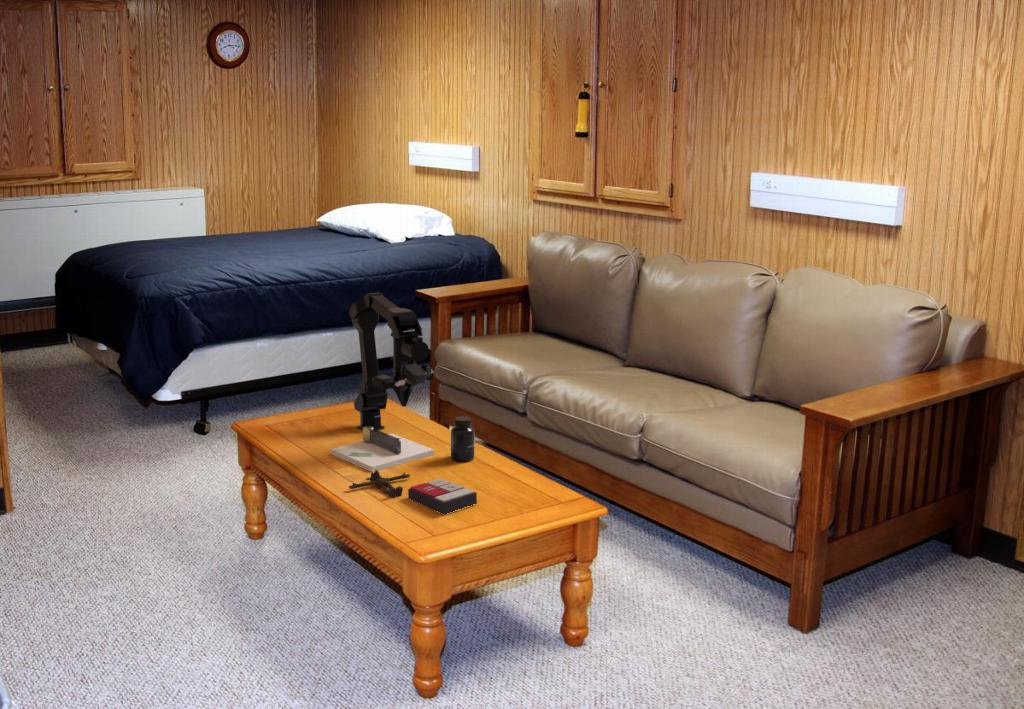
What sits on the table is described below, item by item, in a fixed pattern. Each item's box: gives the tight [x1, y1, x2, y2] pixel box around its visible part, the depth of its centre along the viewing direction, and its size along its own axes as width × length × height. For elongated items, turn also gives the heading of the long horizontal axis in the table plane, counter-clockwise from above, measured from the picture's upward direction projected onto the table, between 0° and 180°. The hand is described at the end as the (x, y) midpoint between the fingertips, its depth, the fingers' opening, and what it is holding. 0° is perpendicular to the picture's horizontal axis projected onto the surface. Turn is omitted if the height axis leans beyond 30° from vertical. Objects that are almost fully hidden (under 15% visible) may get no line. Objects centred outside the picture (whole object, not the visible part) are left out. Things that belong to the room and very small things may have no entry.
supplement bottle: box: [450, 416, 476, 463], centre depth 308 cm, size 7×7×12 cm
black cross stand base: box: [348, 470, 411, 499], centre depth 286 cm, size 18×4×14 cm
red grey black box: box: [407, 478, 478, 515], centre depth 277 cm, size 11×4×15 cm
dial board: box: [330, 433, 435, 473], centre depth 312 cm, size 20×22×2 cm
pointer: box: [362, 426, 401, 454], centre depth 313 cm, size 16×3×4 cm, turn 44°
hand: (403, 406), depth 314 cm, fingers closed
